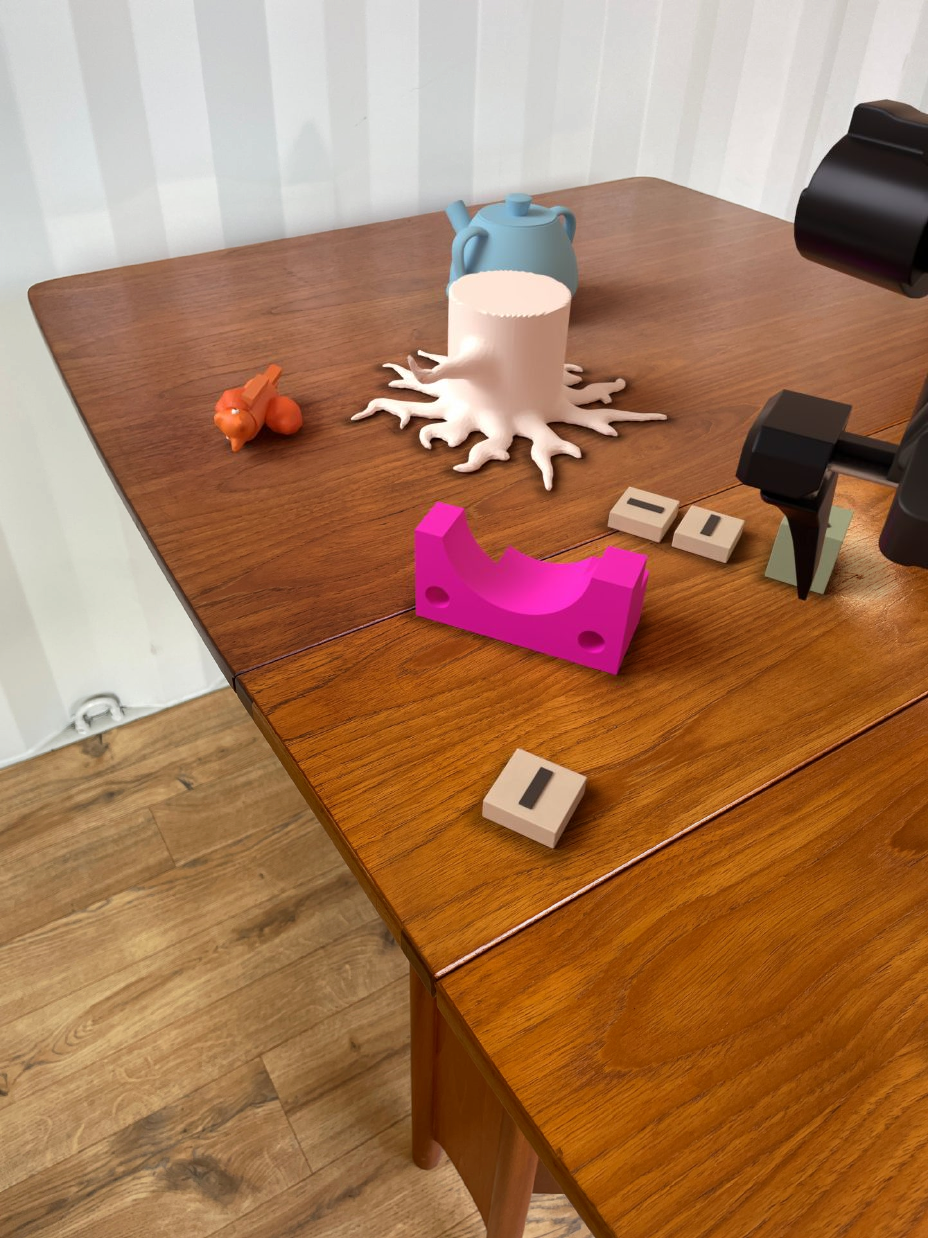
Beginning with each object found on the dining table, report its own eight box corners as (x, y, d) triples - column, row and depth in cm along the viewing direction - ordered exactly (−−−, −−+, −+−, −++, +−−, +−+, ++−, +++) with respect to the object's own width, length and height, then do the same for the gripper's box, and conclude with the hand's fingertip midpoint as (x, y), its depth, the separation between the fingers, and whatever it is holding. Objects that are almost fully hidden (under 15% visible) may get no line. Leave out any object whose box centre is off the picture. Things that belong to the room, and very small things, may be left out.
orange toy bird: (252, 343, 85) (204, 400, 76) (326, 374, 86) (287, 434, 77) (243, 388, 88) (195, 448, 79) (314, 417, 89) (275, 480, 80)
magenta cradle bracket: (639, 620, 65) (656, 535, 60) (616, 674, 60) (632, 588, 55) (450, 567, 69) (452, 484, 64) (415, 614, 64) (414, 529, 60)
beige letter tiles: (741, 535, 73) (745, 518, 72) (725, 564, 70) (730, 547, 69) (626, 500, 77) (629, 484, 76) (607, 526, 74) (610, 510, 73)
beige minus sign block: (584, 793, 53) (587, 775, 52) (553, 849, 50) (556, 831, 49) (516, 763, 54) (517, 745, 53) (481, 816, 51) (483, 798, 50)
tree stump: (511, 515, 74) (520, 389, 67) (297, 402, 88) (285, 288, 81) (688, 406, 90) (712, 294, 83) (482, 325, 104) (487, 223, 97)
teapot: (490, 347, 100) (496, 229, 91) (387, 292, 111) (384, 183, 103) (613, 307, 109) (628, 197, 101) (507, 260, 121) (512, 158, 113)
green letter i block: (834, 563, 71) (855, 509, 67) (823, 594, 67) (843, 539, 64) (778, 546, 72) (794, 492, 69) (764, 576, 69) (781, 521, 66)
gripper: (744, 356, 34) (671, 654, 44) (1338, 492, 28) (1093, 805, 38) (807, 269, 42) (732, 541, 52) (1286, 360, 35) (1093, 650, 45)
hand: (892, 624), depth 46 cm, fingers open, 9 cm apart
